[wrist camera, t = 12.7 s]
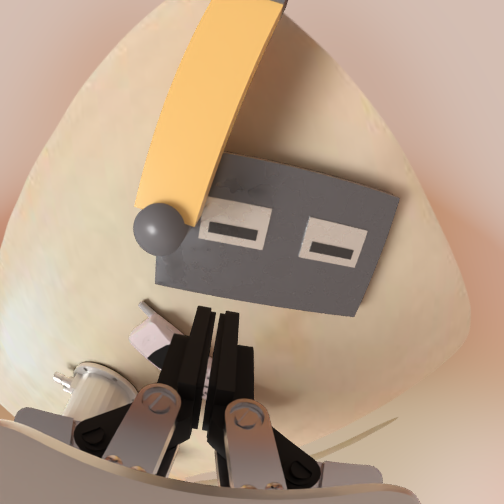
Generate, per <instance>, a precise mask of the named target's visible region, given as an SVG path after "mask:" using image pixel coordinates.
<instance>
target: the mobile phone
mask: <svg viewBox="0 0 504 504" xmlns="http://www.w3.org/2000/svg"><path fill="white" fill-rule="evenodd" d="M138 306H139V307H140V308H141V309H142V310H143V312H144V313H145V314H146V315H147V316H148V317H149V318H148V319H146V320H145V321H143V322H142V323H141V324H139V325H138V326H137V327H135V328H134V329H133V330H132V331H131V333H130V335H129V342H130V343H131V344H132V345H133V346H134V347H135V348H136V349H137V350H138V351H139V352H140V353H141V354H142V355H143V356H144V357H145V358H146V359H147V360H148V361H150V362H151V363H152V364H153V365H154V366H156V367H157V368H158V369H159V370H161V369H162V366H163V363H164V360H165V357H166V354H167V351H168V348H169V345H170V342H171V339H172V337H173V334H174V333H176V334H181V335H184V334H183V333H181V332H180V331H179V330H178V329H177V328H176V327H174V326H173V325H172V324H170V323H169V322H168V321H166V320H165V319H164V318H163V317H161V316H160V315H158V314H157V313H156V312H155V311H154V310H153V309H151V308H150V307H149V306H148V305H147V304H146V303H144V302H143V301H141V302H140V303H139V305H138ZM211 364H212V358H211V357H210V356H209V359H208V365H207V371H206V378H205V384H204V390H203V396H202V398H203V399H205V400H206V398H207V391H208V384H209V377H210V371H211Z"/></svg>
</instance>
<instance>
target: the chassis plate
mask: <svg viewBox="0 0 504 504" xmlns="http://www.w3.org/2000/svg"><path fill="white" fill-rule="evenodd" d="M399 199H400V198H399V197H397V196H395V195H393V194H390V193H387V192H384V191H381V190H378V189H375V188H372V187H369V186H366V185H363V184H359V183H356V182H353V181H349V180H346V179H342V178H339V177H335V176H332V175H328V174H324V173H321V172H317V171H313V170H309V169H305V168H301V167H297V166H293V165H289V164H284V163H280V162H275V161H271V160H266V159H261V158H256V157H251V156H246V155H241V154H236V153H230V152H225V151H223V154H222V157H221V160H220V162H219V165H218V168H217V171H216V174H215V176H214V179H213V182H212V185H211V188H210V191H209V194H208V197H207V200H206V203H205V206H204V209H203V212H202V215H201V217H200V219H199V220H198V222H197V224H196V225H195V227H191V229H190V230H189V232H188V233H187V235H186V237H185V238H184V240H183V242H182V243H181V245H180V246H179V248H178V249H177V250H176V251H175V252H174V253H172V254H170V255H167V256H156V272H155V284H158V285H162V286H167V287H172V288H177V289H182V290H187V291H192V292H197V293H202V294H207V295H212V296H218V297H223V298H229V299H234V300H240V301H246V302H252V303H258V304H264V305H270V306H276V307H283V308H289V309H296V310H303V311H310V312H318V313H325V314H333V315H341V316H349V317H354V316H355V314H356V312H357V310H358V307H359V305H360V303H361V301H362V299H363V296H364V294H365V292H366V289H367V287H368V285H369V282H370V280H371V278H372V275H373V273H374V270H375V268H376V265H377V263H378V260H379V257H380V255H381V252H382V250H383V247H384V244H385V241H386V239H387V236H388V233H389V230H390V227H391V224H392V221H393V218H394V215H395V212H396V209H397V206H398V203H399Z"/></svg>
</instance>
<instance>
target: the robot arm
mask: <svg viewBox="0 0 504 504" xmlns="http://www.w3.org/2000/svg"><path fill="white" fill-rule="evenodd" d="M215 316H216V312H211V308H208V307H203V306H198V308H197V311H196V315H195V319H194V322H193V326H192V329H191V333H190V336H186V335H181V334H176V333H174V334H173V337H172V339H171V342H170V345H169V348H168V351H167V354H166V357H165V360H164V363H163V366H162V369H161V372H160V376H159V379H158V382H157V383H153V384H149V385H147V386H145V387H143V388H142V389H141V390H140V391H139V393H138V392H137V391H136V389H135V388H134V386H133V385H132V384H131V383H130V382H129V381H128V380H126V379H125V378H124V377H123V376H121V375H120V374H118V373H117V372H115V371H113V370H111V369H109V368H107V367H105V366H102V365H100V364H96V363H90V362H85V363H81V364H79V365H78V366H77V367H76V369H75V370H74V377H66V376H65V375H63V374H60V373H58V372H55V374H54V376H53V380H54V381H55V382H57V383H59V384H61V385H64V386H63V390H64V391H65V392H68V393H71V394H72V395H71V397H70V399H69V401H68V403H67V405H66V407H65V409H64V411H63V413H62V415H58V414H53V413H49V412H45V411H42V410H38V409H34V408H29V407H26V408H22V409H21V410H19V411H18V412H17V414H16V416H15V419H14V421H10V420H5V419H0V504H421V503H420V501H419V499H418V498H417V496H416V495H415V494H414V493H413V492H412V491H410V490H408V489H406V488H403V487H400V486H396V485H391V484H383V480H382V474H381V472H380V471H379V470H378V469H377V468H375V467H374V466H370V465H357V464H346V463H337V462H330V461H324V462H323V463H322V462H316V461H315V460H314V459H313V458H312V457H310V456H309V455H308V454H306V453H305V452H304V451H302V450H301V449H300V448H298V447H297V446H296V445H295V444H293V443H292V442H291V441H289V440H288V439H287V438H286V437H284V436H283V435H282V434H281V433H279V432H278V431H277V430H276V429H275V428H273V427H272V425H271V421H270V417H269V414H268V411H267V409H266V408H265V407H264V406H263V405H262V404H260V403H259V402H257V401H254V350H253V347H248V346H242V345H237V344H238V328H239V313H236V312H230V311H226V313H225V314H221V313H220V318H219V323H218V329H217V335H216V340H215V346H214V352H213V358H212V364H211V371H210V377H209V384H208V391H207V398H206V405H205V412H204V419H203V427H202V430H205V431H207V442H208V443H209V444H210V445H211V446H212V447H213V448H214V449H215V462H216V472H217V481H218V486H211V485H204V484H197V483H191V482H185V481H180V480H175V479H170V478H168V476H169V473H170V470H171V468H172V465H173V462H174V460H175V457H176V455H177V452H178V449H179V447H180V443H182V442H184V441H186V440H188V439H190V435H191V432H192V428H194V429H198V423H199V416H200V409H201V403H202V396H203V390H204V384H205V378H206V371H207V365H208V359H209V353H210V347H211V340H212V334H213V328H214V322H215Z"/></svg>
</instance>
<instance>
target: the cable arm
mask: <svg viewBox="0 0 504 504" xmlns="http://www.w3.org/2000/svg"><path fill="white" fill-rule="evenodd" d="M287 2H288V0H211V2H210V4H209V6H208V7H207V9H206V11H205V13H204V15H203V17H202V19H201V21H200V22H199V24H198V26H197V28H196V30H195V32H194V34H193V37H192V39H191V41H190V43H189V45H188V47H187V49H186V51H185V54H184V56H183V58H182V60H181V63H180V65H179V67H178V70H177V72H176V75H175V77H174V79H173V82H172V84H171V87H170V90H169V92H168V95H167V97H166V100H165V103H164V106H163V108H162V111H161V114H160V117H159V120H158V123H157V126H156V129H155V132H154V135H153V138H152V141H151V145H150V148H149V151H148V155H147V158H146V162H145V165H144V169H143V173H142V177H141V180H140V184H139V188H138V192H137V197H136V201H135V205H134V207H137V208H140V209H143V210H141V211H140V212H139V213H138V215H137V216H136V218H135V221H134V226H133V231H134V236H135V239H136V241H137V243H138V244H139V245H140V247H141V248H142V249H143V250H145V251H146V252H148V253H149V254H152V255H155V256H167V255H170V254H172V253H174V252H175V251H176V250H177V249H178V248H179V246H180V245H181V243H182V242H183V240H184V238H185V237H186V235H187V233H188V232H189V230H190V229H191V227H195V225H196V224H197V222H198V220H199V219H200V217H201V215H202V212H203V209H204V206H205V203H206V200H207V197H208V194H209V191H210V188H211V185H212V182H213V179H214V176H215V174H216V171H217V168H218V165H219V162H220V160H221V157H222V154H223V151H224V149H225V146H226V143H227V141H228V138H229V135H230V133H231V130H232V128H233V125H234V123H235V120H236V117H237V115H238V112H239V110H240V107H241V105H242V103H243V100H244V98H245V95H246V93H247V90H248V88H249V86H250V83H251V81H252V79H253V76H254V74H255V72H256V69H257V67H258V65H259V63H260V60H261V58H262V56H263V54H264V51H265V49H266V47H267V45H268V43H269V41H270V38H271V36H272V34H273V32H274V30H275V28H276V26H277V24H278V22H279V20H280V18H281V16H282V14H283V12H284V10H285V8H286V5H287Z"/></svg>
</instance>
